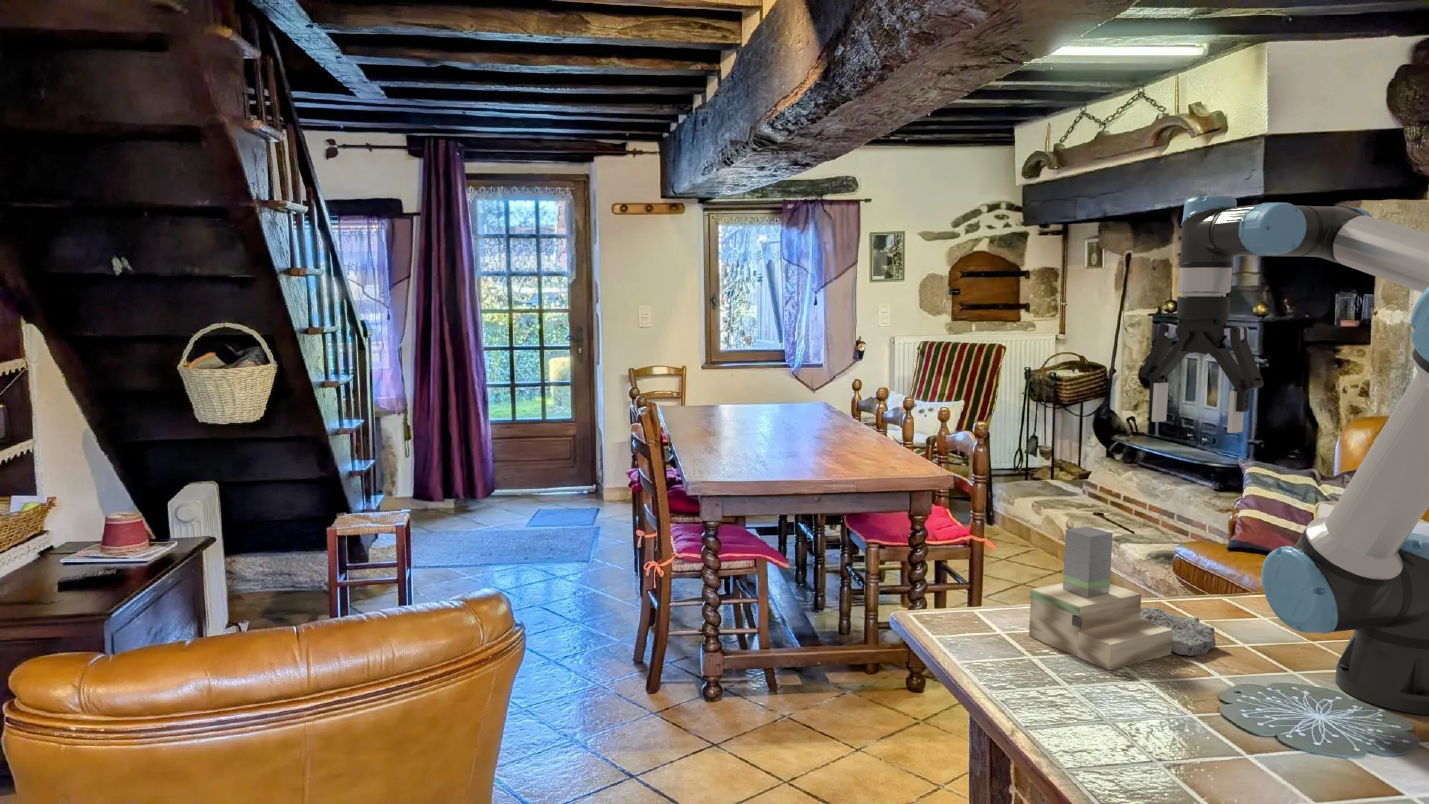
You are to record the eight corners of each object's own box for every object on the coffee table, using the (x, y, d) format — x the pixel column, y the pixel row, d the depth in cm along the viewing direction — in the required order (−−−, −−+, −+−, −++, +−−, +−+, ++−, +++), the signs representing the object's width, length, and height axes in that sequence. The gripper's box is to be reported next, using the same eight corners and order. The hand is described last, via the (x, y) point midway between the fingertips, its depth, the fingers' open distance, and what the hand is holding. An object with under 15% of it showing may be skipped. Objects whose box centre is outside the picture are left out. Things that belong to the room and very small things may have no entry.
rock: (1224, 652, 153) (1227, 622, 152) (1185, 661, 148) (1188, 630, 148) (1154, 626, 164) (1157, 598, 164) (1116, 634, 160) (1118, 605, 159)
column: (1109, 593, 155) (1112, 533, 154) (1087, 598, 153) (1090, 536, 151) (1084, 585, 159) (1087, 526, 158) (1062, 589, 157) (1065, 529, 156)
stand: (1171, 654, 151) (1174, 604, 150) (1107, 670, 144) (1110, 619, 143) (1088, 622, 165) (1091, 577, 164) (1027, 636, 158) (1029, 589, 157)
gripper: (1295, 295, 144) (1285, 435, 147) (1152, 294, 166) (1145, 415, 169) (1264, 295, 141) (1254, 439, 143) (1122, 294, 163) (1115, 418, 165)
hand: (1195, 426), depth 156 cm, fingers open, 13 cm apart
